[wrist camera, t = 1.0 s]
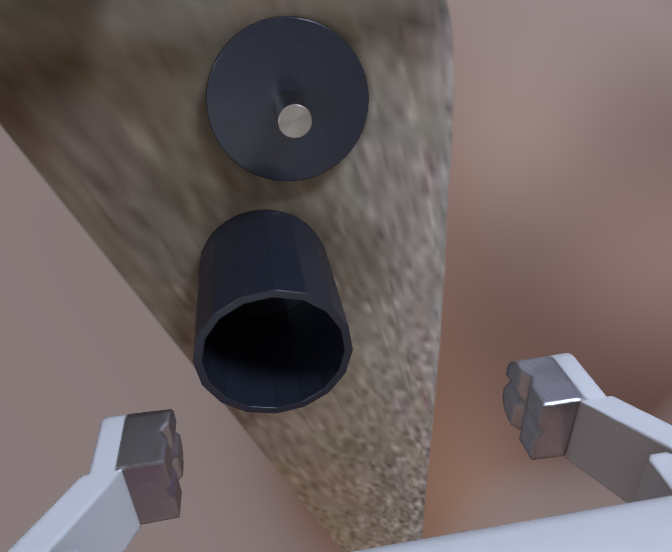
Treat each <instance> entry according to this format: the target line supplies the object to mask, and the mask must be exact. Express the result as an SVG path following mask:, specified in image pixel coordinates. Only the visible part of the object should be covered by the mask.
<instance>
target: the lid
mask: <svg viewBox="0 0 672 552" xmlns="http://www.w3.org/2000/svg"><path fill="white" fill-rule="evenodd" d="M368 103H369V95H368V86H367V80H366V76H365V73H364V70H363V68H362V65H361V63H360V61H359V59H358V57H357V56H356V54H355V53H354V51H353V50H352V49H351V47H350V46H349V45H348V44H347V43H346V42H345V40H343V39H342V38H341V37H340V36H339V35H338V34H337V33H336V32H334V31H333V30H331V29H329V28H328V27H326V26H324V25H322V24H320V23H318V22H316V21H313V20H310V19H306V18H301V17H295V16H280V17H272V18H268V19H264V20H260V21H258V22H256V23H254V24H251V25H249V26H248V27H246V28H244V29H243V30H241V31H240V32H238V33H237V34H236V35H235V36H234V37H232V38H231V39H230V40H229V42H228V43H227V44H226V45H225V46H224V47H223V49H222V50H221V52H220V53H219V54H218V56H217V58H216V60H215V62H214V64H213V66H212V69H211V72H210V75H209V79H208V84H207V92H206V106H207V114H208V118H209V123H210V125H211V128H212V131H213V133H214V135H215V137H216V139H217V141H218V143H219V144H220V146H221V147H222V148H223V150H224V151H225V152H226V153H227V154H228V156H229V157H230V158H231V159H232V160H234V161H235V162H236V163H237V164H238V165H240V166H241V167H243V168H244V169H246V170H247V171H249V172H251V173H253V174H255V175H258V176H261V177H264V178H267V179H272V180H278V181H297V180H304V179H307V178H311V177H314V176H317V175H319V174H322V173H324V172H325V171H327V170H329V169H331V168H332V167H334V166H335V165H336V164H338V163H339V162H340V161H341V160H342V159H343V158H344V157H345V156H346V155H347V154H348V153H349V152H350V151H351V149H352V148H353V147H354V145H355V144H356V142H357V141H358V139H359V137H360V135H361V133H362V130H363V128H364V125H365V122H366V118H367V113H368Z"/></svg>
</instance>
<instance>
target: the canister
mask: <svg viewBox="0 0 672 552" xmlns="http://www.w3.org/2000/svg"><path fill="white" fill-rule="evenodd" d="M352 350H353V348H352V343H351V337H350V332H349V327H348V323H347V320H346V317H345V313H344V310H343V307H342V304H341V300H340V297H339V294H338V291H337V287H336V284H335V281H334V277H333V274H332V271H331V268H330V264H329V261H328V258H327V254H326V251H325V248H324V245H323V244H322V242H321V241H320V239H319V237H318V236H317V234H316V233H315V232H314V231H313V229H312V228H311V227H309V226H308V225H307V224H306V223H305V222H303V221H302V220H300V219H298V218H296V217H294V216H292V215H289V214H286V213H283V212H279V211H271V210H258V211H251V212H247V213H243V214H240V215H238V216H235V217H233V218H231V219H229V220H228V221H226V222H225V223H223V224H222V225H221V226H219V227H218V228H217V229H216V230H215V231H214V232H213V233H212V235H211V236H210V237H209V238H208V240H207V242H206V244H205V246H204V248H203V250H202V253H201V259H200V268H199V278H198V293H197V308H196V324H195V339H194V355H193V363H194V366H195V368H196V371H197V373H198V376H199V378H200V381H201V384H202V385H203V386H204V387H205V388H206V389H207V390H208V391H209V392H210V393H212V394H213V395H214V396H215V397H216V398H217V399H218V400H219V401H220V402H222V403H224V404H227V405H229V406H232V407H235V408H237V409H240V410H243V411H245V412H258V413H280V412H284V411H288V410H293V409H297V408H301V407H304V406H306V405H308V404H310V403H312V402H313V401H315V400H317V399H319V398H320V397H322V396H324V395H326V394H327V393H328V392H329V391H330V390H331V389H332V388H333V387H334V386H335V385H336V383H337V382H338V381H339V380H340V379H341V378H342V377H343V375H344V374H345V373H346V370H347V366H348V363H349V360H350V357H351V354H352Z"/></svg>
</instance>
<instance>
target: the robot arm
mask: <svg viewBox="0 0 672 552" xmlns="http://www.w3.org/2000/svg"><path fill="white" fill-rule="evenodd" d="M506 374H507V376H508V377H509V379H510V382H509V383H508V384H507V385H506V386H505V387H504V391H503V404H504V409H505V413H506V415H507V418H508V420H509V421H510V423H511V425H512V426H514V427H516V428H517V429H519V430H521V433H520V438H519V439H520V441H521V443H522V444H523V446H524V448H525V450H526V451H527V453H528V454H529V456H530V458H531V460H536V459H544V458H551V457H559V456H565V458H567V459H568V460H569V461H571V462H572V463H573V464H575V465H576V466H577V467H579V468H580V469H582V470H583V471H585V472H586V473H587V474H588V475H590V476H591V477H593V478H594V479H595V480H596V481H598V482H599V483H601V484H602V485H603V486H605V487H606V488H607V489H609V490H610V491H611V492H613V493H614V494H616V495H617V496H618V497H620V498H621V499H622V500H624V501H625V502H626V503H625V504H620V505H613V506H608V507H602V508H596V509H591V510H585V511H579V512H573V513H568V514H562V515H556V516H551V517H545V518H539V519H534V520H528V521H523V522H517V523H512V524H505V525H500V526H494V527H488V528H483V529H477V530H472V531H465V532H460V533H454V534H448V535H443V536H437V537H431V538H426V539H420V540H414V541H409V542H403V543H397V544H391V545H386V546H380V547H374V548H369V549H363V550H357V551H352V552H672V425H670V424H668V423H666V422H664V421H662V420H660V419H658V418H656V417H653V416H652V415H650V414H648V413H646V412H643V411H641V410H639V409H637V408H635V407H633V406H631V405H629V404H627V403H625V402H623V401H621V400H619V399H617V398H615V397H613V396H610V397H606V396H605V394H604V393H603V392H602V391H601V390H600V388H599V387H598V386H597V385H596V383H595V382H594V381H593V380H592V378H591V377H590V376H589V375H588V374H587V372H586V371H585V370H584V369H583V367H582V366H581V365H580V364H579V363H578V361H577V360H576V359H575V358H574V356H573V355H571V354H569V353H564V354H558V355H551V356H548V357H539V358H532V359H526V360H519V361H512V362H510V364H509V365H508V367H507V373H506ZM175 430H176V418H175V415H174V411H173V410H172V409H169V410H160V411H151V412H143V413H135V414H128V415H122V416H112V417H105V418H104V419H103V421H102V422H101V426H100V430H99V434H98V438H97V442H96V446H95V450H94V454H93V458H92V462H91V466H90V470H89V474H88V475H84V476H81V477H80V478H79V479H78V480H77V481H76V482H75V483H74V484H73V485H72V486H71V487H70V488H69V489H68V490H67V491H66V492H65V493H64V494H63V495H62V496H61V498H59V499H58V500H57V502H55V504H54V505H53V506H52V507H51V508H50V509H49V510H48V511H47V512H46V513H45V514H44V515H43V516H42V517H41V518H40V519H39V520H38V521H37V522H36V523H35V524H34V525H33V526H32V527H31V528H30V529H29V530H28V531H27V532H26V533H25V534H24V535H23V536H22V537H21V538H20V539H19V540H18V541H17V542H16V543H15V544H14V545H13V546H12V547H11V548H10V549H9V550H8V551H7V552H125V550H126V549H127V547H128V546H129V544H130V543H131V541H132V540H133V538H134V537H135V535H136V533H137V532H138V530H139V529H140V528H141V524H147V523H152V522H157V521H163V520H168V519H172V518H178V517H180V507H181V494H182V491H181V487H180V484H179V480H180V478H181V477H182V476H183V449H182V442H181V438H180V435H179V434H178V433H176V432H175Z"/></svg>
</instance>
